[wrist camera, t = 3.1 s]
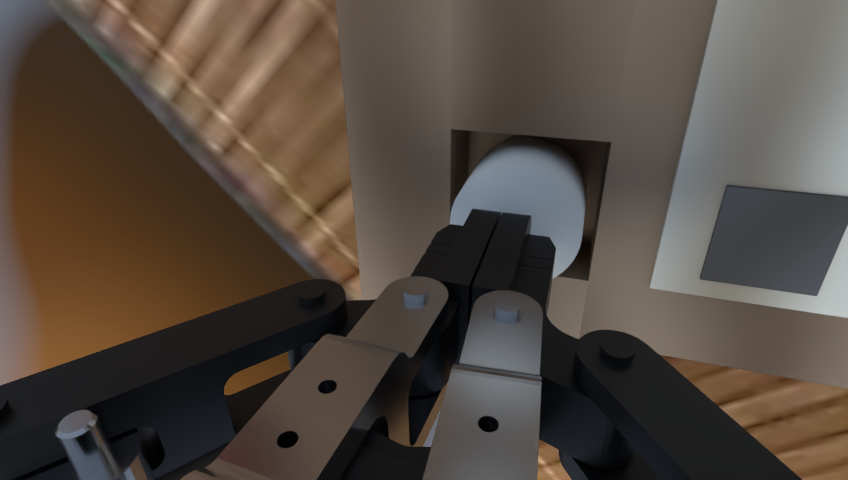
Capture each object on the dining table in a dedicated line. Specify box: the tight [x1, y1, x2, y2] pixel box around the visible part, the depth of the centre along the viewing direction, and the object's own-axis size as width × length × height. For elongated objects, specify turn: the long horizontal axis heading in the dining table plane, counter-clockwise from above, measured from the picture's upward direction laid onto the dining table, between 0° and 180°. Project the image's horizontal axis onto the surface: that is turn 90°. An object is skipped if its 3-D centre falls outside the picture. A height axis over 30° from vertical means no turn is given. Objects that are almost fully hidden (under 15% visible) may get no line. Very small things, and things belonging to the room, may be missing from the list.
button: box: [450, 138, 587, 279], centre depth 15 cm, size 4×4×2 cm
